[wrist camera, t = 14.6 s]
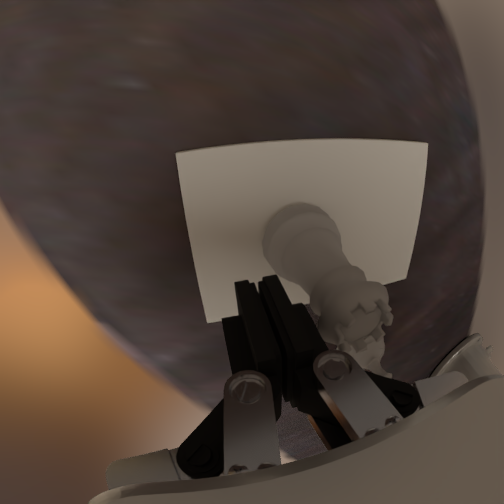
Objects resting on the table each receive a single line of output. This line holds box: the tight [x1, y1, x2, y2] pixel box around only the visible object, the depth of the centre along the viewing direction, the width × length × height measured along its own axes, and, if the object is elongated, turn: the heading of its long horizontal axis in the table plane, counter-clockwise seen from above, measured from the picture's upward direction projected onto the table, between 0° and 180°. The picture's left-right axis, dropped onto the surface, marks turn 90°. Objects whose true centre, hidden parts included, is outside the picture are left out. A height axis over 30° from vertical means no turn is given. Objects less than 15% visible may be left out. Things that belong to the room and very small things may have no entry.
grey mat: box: [176, 138, 428, 323], centre depth 17 cm, size 16×11×1 cm
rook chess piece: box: [262, 204, 394, 353], centre depth 13 cm, size 4×4×8 cm
